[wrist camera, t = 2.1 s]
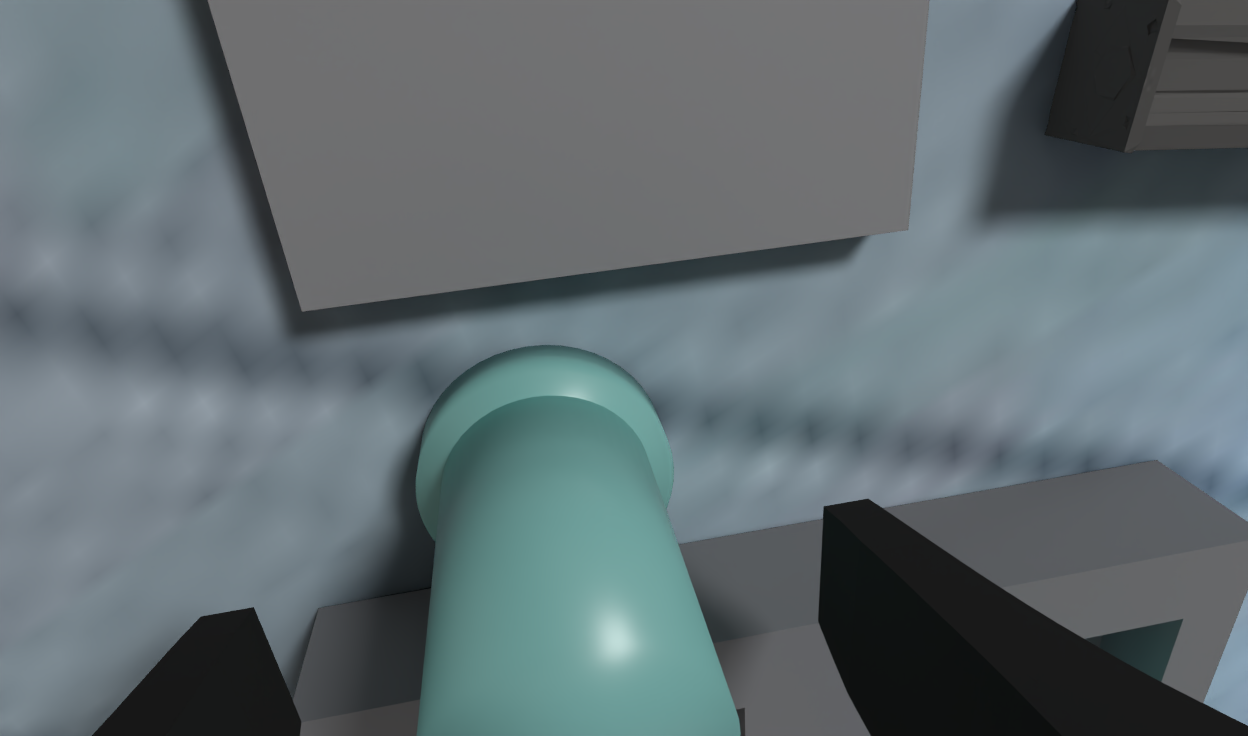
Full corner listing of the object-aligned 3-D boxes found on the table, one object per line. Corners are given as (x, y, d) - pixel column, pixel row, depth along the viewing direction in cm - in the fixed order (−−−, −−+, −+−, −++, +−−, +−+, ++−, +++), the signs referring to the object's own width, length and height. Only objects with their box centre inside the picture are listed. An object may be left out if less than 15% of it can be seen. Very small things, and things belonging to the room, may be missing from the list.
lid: (883, 216, 12) (907, 229, 11) (313, 291, 11) (301, 311, 10) (918, -251, 9) (954, -272, 9) (168, -206, 8) (138, -225, 8)
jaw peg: (667, 528, 14) (775, 843, 9) (445, 567, 14) (419, 923, 8) (654, 328, 12) (779, 575, 7) (395, 365, 12) (320, 660, 7)
